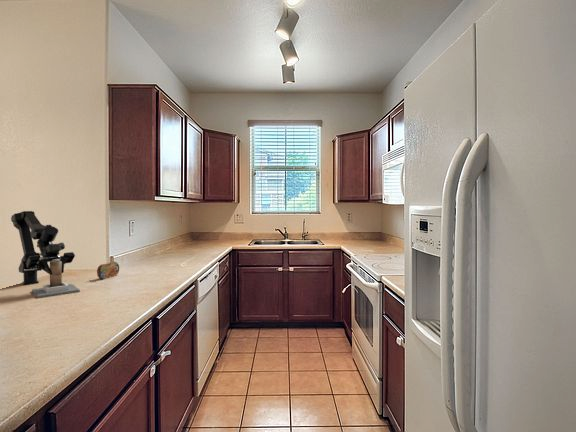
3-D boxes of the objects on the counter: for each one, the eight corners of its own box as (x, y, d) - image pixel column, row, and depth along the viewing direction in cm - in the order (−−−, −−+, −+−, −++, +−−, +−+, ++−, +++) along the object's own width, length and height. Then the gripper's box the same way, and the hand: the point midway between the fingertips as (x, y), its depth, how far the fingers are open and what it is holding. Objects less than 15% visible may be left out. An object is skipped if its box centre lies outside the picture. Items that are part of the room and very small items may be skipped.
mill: (51, 286, 157) (51, 259, 156) (62, 285, 158) (62, 258, 158) (48, 288, 152) (48, 260, 152) (60, 287, 154) (60, 260, 154)
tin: (100, 280, 180) (100, 265, 180) (95, 280, 181) (95, 264, 180) (119, 274, 195) (119, 260, 195) (115, 274, 195) (115, 260, 195)
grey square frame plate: (32, 291, 155) (32, 285, 155) (71, 285, 167) (71, 280, 167) (38, 298, 144) (37, 291, 144) (79, 291, 156) (79, 285, 155)
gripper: (28, 239, 149) (38, 265, 143) (73, 236, 165) (84, 260, 159) (21, 254, 154) (31, 280, 148) (66, 250, 169) (76, 274, 164)
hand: (57, 273), depth 155 cm, fingers closed on mill, 5 cm apart
